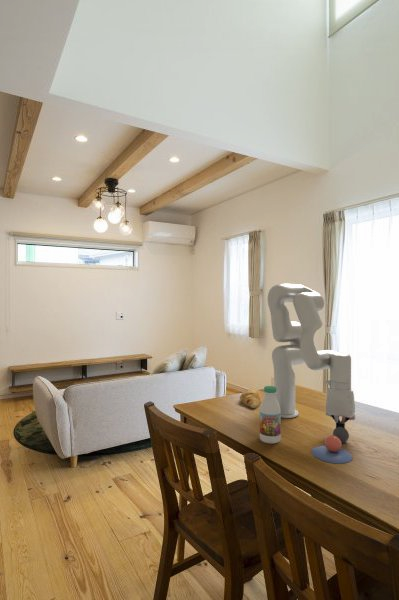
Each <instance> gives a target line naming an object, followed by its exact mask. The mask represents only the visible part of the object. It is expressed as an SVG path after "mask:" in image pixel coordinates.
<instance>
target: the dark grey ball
mask: <svg viewBox="0 0 399 600" xmlns="http://www.w3.org/2000/svg"><path fill="white" fill-rule="evenodd" d="M332 435H334V436H336V437H338V438H339V439H340V441H341V444H343V443H345V442H346V443H347V441H348V440H349V437H350V434H349V431H348V429H346V427H345V428H343V427H337V428H336V427H335V428H334V429H333V432H332Z"/></svg>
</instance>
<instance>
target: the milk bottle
mask: <svg viewBox="0 0 399 600" xmlns="http://www.w3.org/2000/svg"><path fill="white" fill-rule="evenodd" d="M263 393H264V397H263V399H262V402H260V409H259V440H260V441H261V442H262V443H265V444H270V445H271V444H272V445H273V444H278V443H280V442H281V429H282V428H281V426H282V425H281V423H282V421H281V418H282V417H281V413H280V406H279V403H278V401H277V398H276V387H274V385H273V386H272V385H266V386H264V388H263Z"/></svg>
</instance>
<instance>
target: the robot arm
mask: <svg viewBox="0 0 399 600" xmlns="http://www.w3.org/2000/svg"><path fill="white" fill-rule="evenodd" d="M266 300H267V305H268V309H269V312H270V321H271V328H272V329H271V331H272V336H273V339H274V341H275V342H277V343H289V344H285V345H279V346H276V347H275V348H273V350H272V353H271V360H272V365H273V386H274V387H276V398H277V401H278V403H279V406H280V413H281V418H283V419H292V418H296V417H298V416H299V414H300V413H299V411H298V410H297V409H296V374H295V371H294V369H293V366H296V365H302V364H305V365H306V366H307V368H309V369H310V370H312V371H321V370H329V369H330V370H329V380H326V381H325V382H326V385H329V387H327V389H326V390H327V391H326V401H325V416H328V417H331V418H332V419H333V420H334V422H335V428H337V427H343V428H345V429H346V427H345V426H346V423H347V422H348V421H354V420H356V414H355V412H356V404H355V395H354V394H355V393H354V390H353V388H352V357H351V355H350V354H348V353H346V352H337V351H336V350H331V349H324V350H321V349H320V350H317V349H316V346H315V341H314V338H315V334H316V333H317V331H319V330H320V329H321V328H322V327H323V322H322V319H321V317H320V315H319V312H320V311H322V310H323V308H324V306H325V299H324V297H323V296H322V294H321V293H319V292H317V291H315V290H314V289H313V290H312V289H311V288H309V287H307V286H306V285H305V286H304V285H302V284H298V283H297V284H295V283H292V284H291V283H279V284H275V285H273V286H272V287H271V288H270V289H269V291H268V293H267V299H266ZM285 303H292V304H293V308H294V310H295V313H296V315H297V318H298V321H299V322H298V321H291V319H290V318H291V317H290V312H289V310H288V308H287V306H286V305H285ZM340 417H341V419H340Z"/></svg>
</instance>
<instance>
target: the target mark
mask: <svg viewBox="0 0 399 600" xmlns="http://www.w3.org/2000/svg"><path fill="white" fill-rule="evenodd" d="M311 454H312V456H313V457H315V458H316V459H317V460H320V461H322V462H325V463H329V464H334V465H335V464H337V465H339V464H341V465H342V464H343V465H344V464H347V463H350V462H352V460H353V455H352V453H350V452H349V451H347V450H346V449H343V448H341V449H340V450H339V451H338V452H331V451H329V450H328V449H327V448H326V446H325V445H320V446H315V447H313V448H312V449H311Z"/></svg>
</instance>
